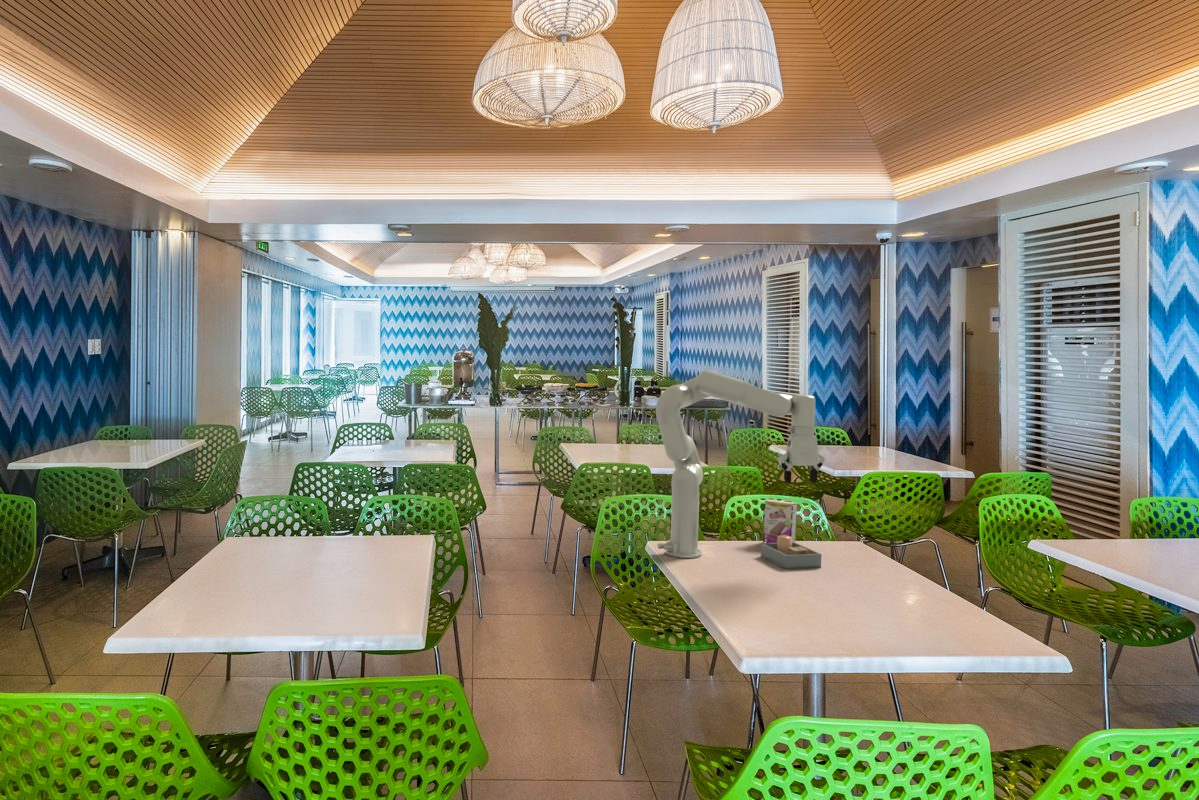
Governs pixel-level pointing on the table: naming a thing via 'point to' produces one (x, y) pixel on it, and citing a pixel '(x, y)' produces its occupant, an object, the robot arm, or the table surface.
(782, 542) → the terracotta cylinder
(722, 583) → the table surface
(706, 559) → the table surface
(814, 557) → the grey tote
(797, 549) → the walnut cube
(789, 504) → the candy bar box
